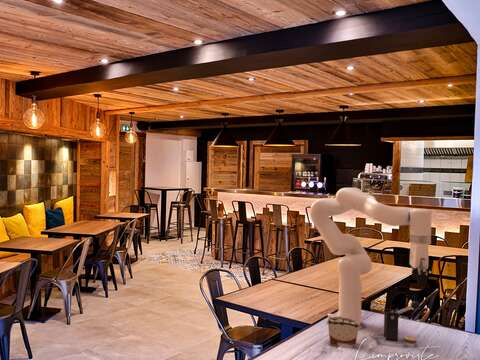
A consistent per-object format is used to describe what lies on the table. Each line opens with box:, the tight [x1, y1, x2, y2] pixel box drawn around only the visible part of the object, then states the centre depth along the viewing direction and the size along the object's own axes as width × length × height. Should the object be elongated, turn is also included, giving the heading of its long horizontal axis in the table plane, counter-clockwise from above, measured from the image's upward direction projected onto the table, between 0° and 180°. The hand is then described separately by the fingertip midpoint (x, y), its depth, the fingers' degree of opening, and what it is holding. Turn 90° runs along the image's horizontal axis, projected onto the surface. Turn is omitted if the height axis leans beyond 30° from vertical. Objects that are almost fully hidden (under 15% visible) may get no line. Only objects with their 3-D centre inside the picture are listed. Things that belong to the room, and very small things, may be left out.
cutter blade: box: [391, 300, 421, 315], centre depth 187 cm, size 13×3×3 cm, turn 73°
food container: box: [326, 317, 361, 347], centre depth 186 cm, size 12×6×10 cm, turn 71°
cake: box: [402, 334, 417, 344], centre depth 187 cm, size 5×5×3 cm
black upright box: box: [383, 308, 400, 343], centre depth 189 cm, size 10×8×13 cm
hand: (419, 282), depth 186 cm, fingers open, 9 cm apart
